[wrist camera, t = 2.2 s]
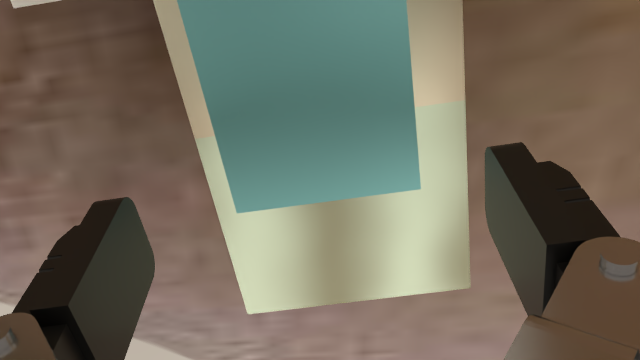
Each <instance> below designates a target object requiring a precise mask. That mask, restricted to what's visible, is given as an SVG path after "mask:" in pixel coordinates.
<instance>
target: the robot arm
mask: <svg viewBox="0 0 640 360" xmlns="http://www.w3.org/2000/svg"><path fill="white" fill-rule="evenodd" d="M485 210H486V218H487V224H488V228H489V231H490V234H491V236H492V238H493V240H494V243H495V245H496V247H497V249H498V251H499V254H500V256H501V258H502V260H503V262H504V265H505V267H506V269H507V271H508V273H509V276H510V278H511V280H512V282H513V284H514V286H515V289H516V291H517V293H518V295H519V297H520V300H521V302H522V304H523V306H524V308H525V311H526V313H527V315H528V317H527V319H526V320H525V322H524V323H523V325H522V327H521V329H520V331H519V332H518V334H517V336H516V338H515V340H514V342H513V343H512V345H511V347H510V349H509V351H508V353H507V354H506V356H505V358H504V360H640V242H638V241H635V240H631V239H627V238H622V237H620V236H619V234H618V233H617V232H616V231H615V229H614V228H613V227H612V225H611V224H610V223H609V222H608V220H607V219H606V218H605V216H604V215H603V214H602V213H601V211H600V210H599V209H598V207H597V206H596V205H595V204H594V202H593V201H592V200H590V197H589V196H588V195H587V193H586V192H585V191H584V190H583V189H581V186H580V184H579V183H578V182H577V181H576V179H575V178H574V177H573V175H572V174H571V173H570V172H569V171H567V170H566V169H564V168H562V167H560V166H558V165H557V164H555V163H553V162H551V161H546V162H539V163H537V162H536V160H535V159H534V158H533V156H532V155H531V153H530V152H529V150H528V149H527V148H526V146H525V145H524V144H523V143H522V142H520V143H513V144H506V145H499V146H492V147H487V148H486V152H485ZM47 258H48V260H45V261H44V263H43V264H42V266H41V268H40V269H39V273H37V274H36V275H35V277H34V279H33V280H32V282H31V283H30V285H29V287H28V288H27V290H26V291H25V293H24V295H23V296H22V298H21V299H20V301H19V302H18V304H17V306H16V307H15V309H14V310H13V312H12V313H11V314H7V315H3V316H1V317H0V360H124V359H125V356H126V353H127V350H128V347H129V344H130V342H131V339H132V336H133V333H134V331H135V328H136V325H137V322H138V319H139V317H140V314H141V311H142V308H143V305H144V303H145V300H146V297H147V294H148V291H149V289H150V286H151V283H152V280H153V277H154V271H155V262H154V255H153V251H152V248H151V246H150V243H149V241H148V238H147V235H146V233H145V230H144V228H143V225H142V222H141V220H140V217H139V215H138V212H137V209H136V207H135V205H134V203H133V201H132V200H131V199H130V198H128V197H124V198H117V199H110V200H103V201H96V202H94V203H93V204H92V206H91V207H90V209H89V211H88V212H87V214H86V216H85V217H84V219H83V221H82V222H81V224H80V225H78V226H74V227H73V228H72V229H71V230H69V231H68V232H67V233H66V234H65V235H64V236H62V237H61V238H60V239H59V240H58V241H57V242H56V244H55V245H54V247H53V248H52V250H51V252H50V253H49V255H48V256H47Z"/></svg>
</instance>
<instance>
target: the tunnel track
mask: <svg viewBox="0 0 640 360" xmlns="http://www.w3.org/2000/svg"><path fill="white" fill-rule="evenodd" d="M54 1H60V0H11V3H12V5H13V7H14V8H18V7H24V6H30V5H36V4H42V3H48V2H54ZM153 2H154V6H155V9H156V12H157V15H158V19H159V22H160V25H161V29H162V32H163V35H164V39H165V42H166V45H167V49H168V52H169V55H170V58H171V62H172V65H173V68H174V72H175V75H176V78H177V82H178V85H179V88H180V92H181V95H182V98H183V101H184V105H185V108H186V111H187V115H188V118H189V121H190V125H191V128H192V131H193V134H194V138H195V141H196V144H197V148H198V151H199V154H200V158H201V161H202V164H203V168H204V171H205V174H206V177H207V181H208V184H209V187H210V191H211V194H212V197H213V201H214V204H215V207H216V211H217V214H218V217H219V220H220V224H221V227H222V230H223V234H224V237H225V240H226V244H227V247H228V250H229V254H230V257H231V260H232V263H233V267H234V270H235V273H236V277H237V280H238V283H239V287H240V290H241V293H242V297H243V300H244V303H245V306H246V310H247V313H248V314H254V313H263V312H271V311H280V310H288V309H297V308H305V307H314V306H322V305H330V304H339V303H347V302H356V301H364V300H373V299H381V298H390V297H398V296H407V295H415V294H424V293H432V292H441V291H449V290H458V289H466V288H470V254H469V218H468V182H467V146H466V110H465V74H464V38H463V2H462V0H406V2H407V15H408V28H409V41H410V54H411V67H412V80H413V92H414V105H415V118H416V131H417V144H418V157H419V170H420V183H421V189H419V190H411V191H404V192H396V193H388V194H381V195H373V196H366V197H358V198H351V199H343V200H336V201H328V202H320V203H313V204H305V205H298V206H290V207H283V208H275V209H268V210H260V211H252V212H245V213H237V212H236V209H235V205H234V202H233V198H232V195H231V191H230V188H229V184H228V180H227V177H226V173H225V170H224V166H223V163H222V159H221V155H220V152H219V148H218V145H217V141H216V138H215V134H214V131H213V127H212V123H211V120H210V116H209V113H208V109H207V106H206V102H205V99H204V95H203V91H202V88H201V84H200V81H199V77H198V74H197V70H196V67H195V63H194V59H193V56H192V52H191V49H190V45H189V42H188V38H187V35H186V31H185V27H184V24H183V20H182V17H181V13H180V10H179V6H178V3H177V0H153Z"/></svg>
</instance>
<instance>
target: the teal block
mask: <svg viewBox="0 0 640 360" xmlns="http://www.w3.org/2000/svg"><path fill="white" fill-rule="evenodd" d="M177 3H178V6H179V10H180V13H181V17H182V20H183V24H184V27H185V31H186V35H187V38H188V42H189V45H190V49H191V52H192V56H193V59H194V63H195V67H196V70H197V74H198V77H199V81H200V84H201V88H202V91H203V95H204V99H205V102H206V106H207V109H208V113H209V116H210V120H211V123H212V127H213V131H214V134H215V138H216V141H217V145H218V148H219V152H220V155H221V159H222V163H223V166H224V170H225V173H226V177H227V180H228V184H229V188H230V191H231V195H232V198H233V202H234V205H235V209H236V212H237V213H245V212H252V211H260V210H268V209H275V208H283V207H290V206H298V205H305V204H313V203H320V202H328V201H336V200H343V199H351V198H358V197H366V196H373V195H381V194H388V193H396V192H404V191H411V190H419V189H421V183H420V170H419V157H418V144H417V131H416V118H415V105H414V92H413V80H412V67H411V54H410V41H409V28H408V15H407V2H406V0H177Z"/></svg>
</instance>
